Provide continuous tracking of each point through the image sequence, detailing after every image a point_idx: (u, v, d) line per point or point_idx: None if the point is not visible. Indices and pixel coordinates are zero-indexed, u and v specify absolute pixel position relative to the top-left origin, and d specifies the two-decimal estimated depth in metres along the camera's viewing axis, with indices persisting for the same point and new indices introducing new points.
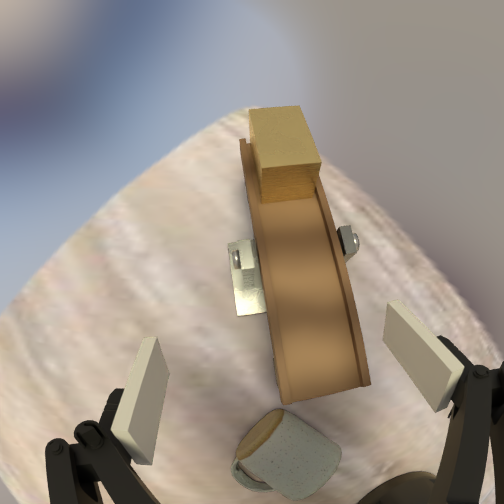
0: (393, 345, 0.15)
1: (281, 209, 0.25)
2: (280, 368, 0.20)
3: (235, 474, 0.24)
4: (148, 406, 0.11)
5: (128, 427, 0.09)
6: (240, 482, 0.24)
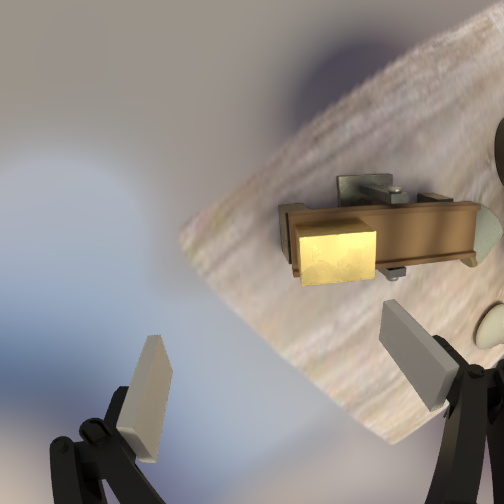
0: (389, 344, 0.15)
1: None
2: (461, 257, 0.29)
3: None
4: (152, 404, 0.11)
5: (133, 424, 0.09)
6: None
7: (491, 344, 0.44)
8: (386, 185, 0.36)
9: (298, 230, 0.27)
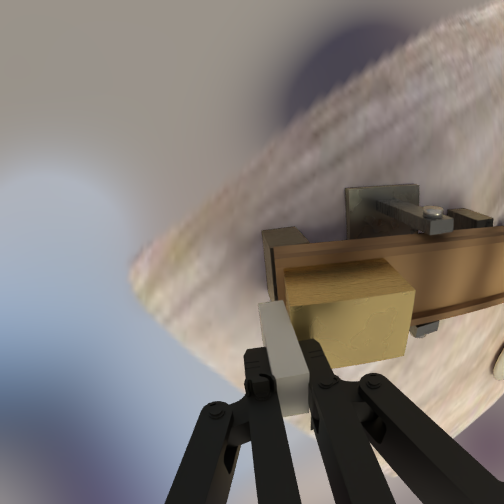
0: None
1: None
2: None
3: None
4: None
5: (290, 373, 0.11)
6: None
7: None
8: (411, 200, 0.25)
9: (289, 285, 0.17)
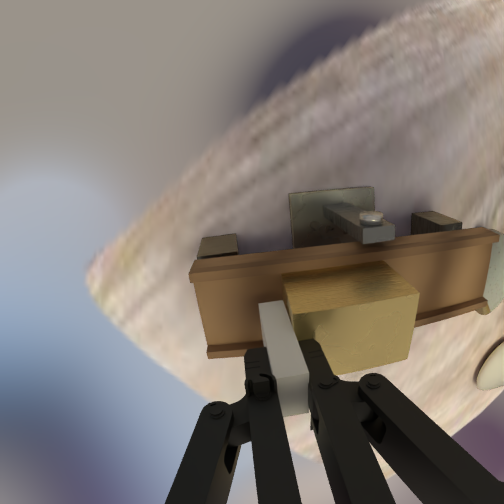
0: None
1: None
2: (467, 310, 0.19)
3: None
4: None
5: (291, 373, 0.11)
6: None
7: (494, 386, 0.34)
8: (364, 204, 0.25)
9: (289, 292, 0.16)
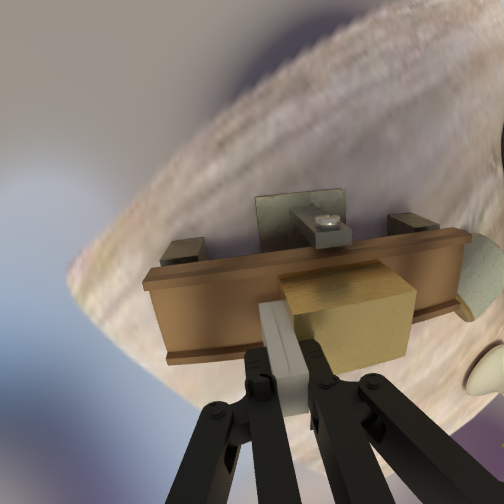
0: None
1: None
2: (438, 314, 0.20)
3: None
4: None
5: (291, 373, 0.11)
6: None
7: (484, 392, 0.34)
8: (334, 206, 0.26)
9: (287, 292, 0.16)
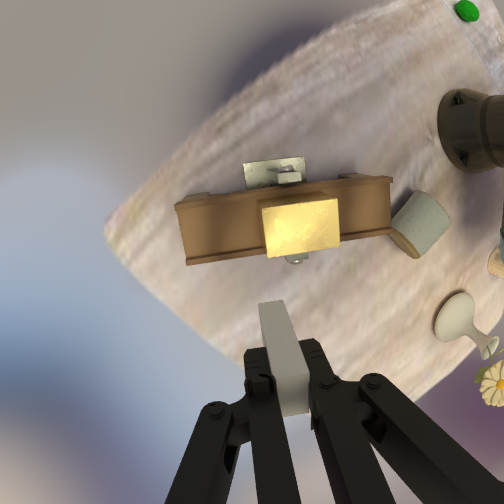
0: None
1: (259, 228, 0.31)
2: (374, 234, 0.32)
3: None
4: None
5: (290, 373, 0.11)
6: None
7: (452, 336, 0.46)
8: (297, 168, 0.37)
9: (260, 204, 0.28)
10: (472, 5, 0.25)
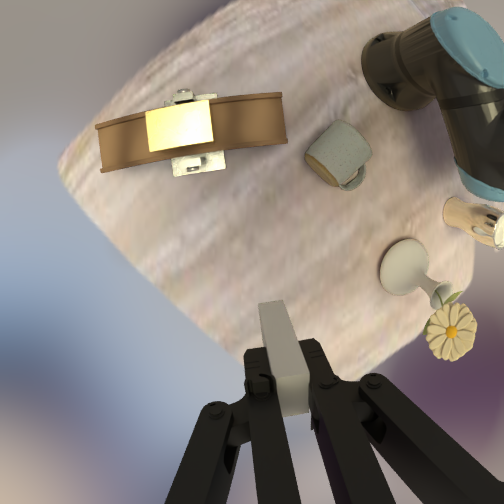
0: None
1: None
2: (265, 143, 0.34)
3: (350, 188, 0.45)
4: None
5: (290, 373, 0.11)
6: (357, 185, 0.45)
7: (401, 286, 0.48)
8: None
9: None
10: None
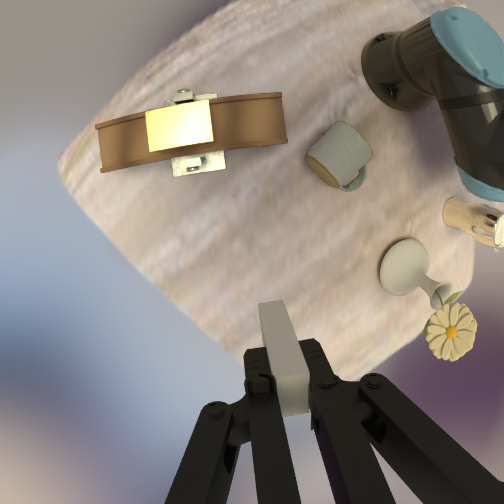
0: None
1: None
2: (265, 143, 0.34)
3: (351, 189, 0.45)
4: None
5: (290, 373, 0.11)
6: (358, 186, 0.45)
7: (401, 286, 0.48)
8: None
9: None
10: None
